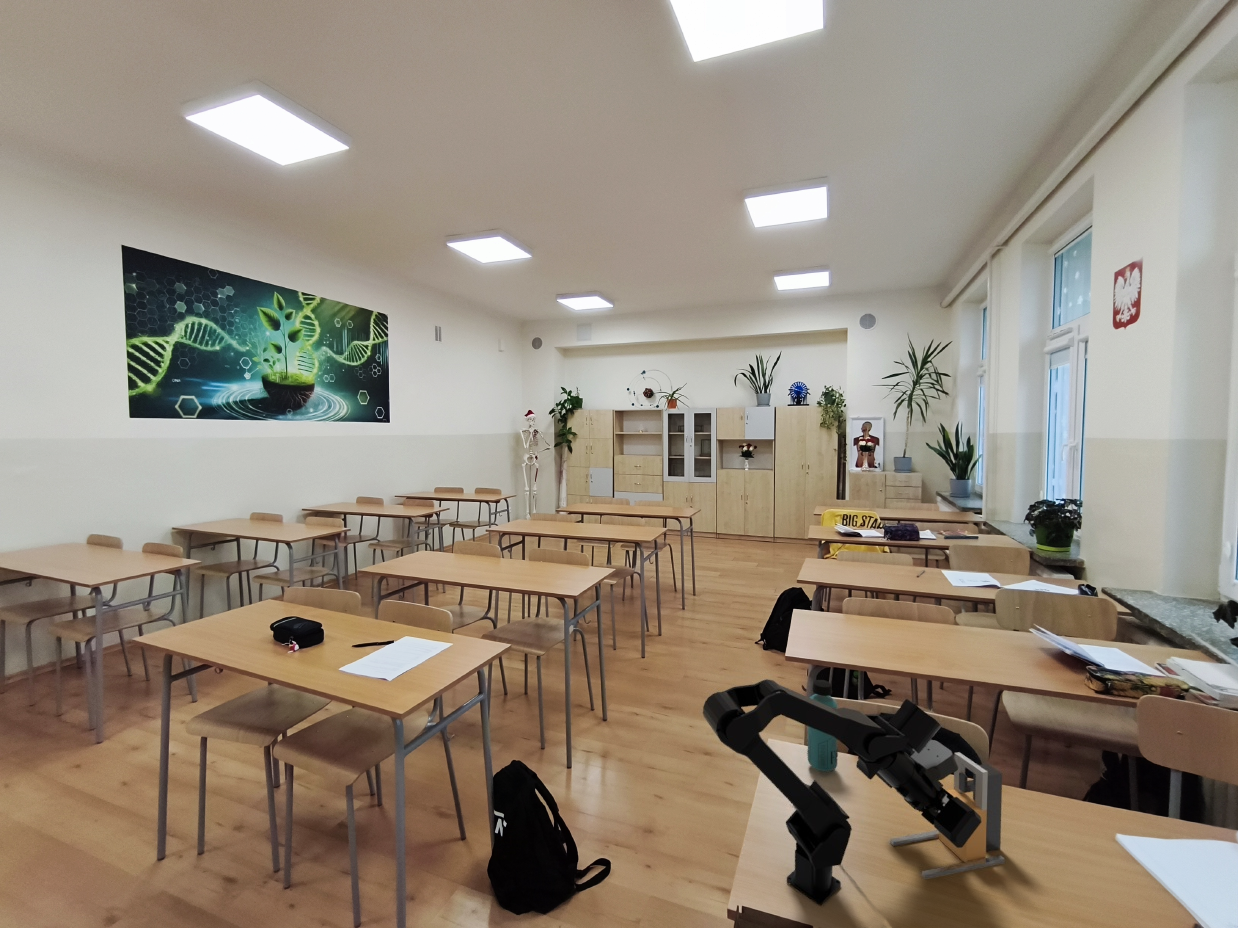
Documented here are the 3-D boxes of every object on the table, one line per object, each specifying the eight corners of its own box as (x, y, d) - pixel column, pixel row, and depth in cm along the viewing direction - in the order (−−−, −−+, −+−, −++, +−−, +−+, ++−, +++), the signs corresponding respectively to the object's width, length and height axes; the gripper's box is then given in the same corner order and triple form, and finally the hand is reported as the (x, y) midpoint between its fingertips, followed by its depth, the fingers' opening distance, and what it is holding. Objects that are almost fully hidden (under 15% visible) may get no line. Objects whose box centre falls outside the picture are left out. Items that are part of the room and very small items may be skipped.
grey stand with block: (928, 889, 90) (930, 801, 89) (886, 845, 100) (888, 765, 99) (1018, 870, 94) (1020, 785, 93) (969, 829, 103) (971, 752, 103)
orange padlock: (966, 863, 94) (968, 774, 93) (938, 838, 100) (940, 754, 99) (985, 859, 95) (987, 771, 94) (957, 835, 100) (959, 752, 100)
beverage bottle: (833, 782, 118) (833, 692, 117) (802, 771, 122) (803, 683, 121) (841, 767, 123) (842, 681, 122) (811, 757, 127) (812, 673, 126)
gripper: (972, 763, 85) (1028, 820, 88) (889, 706, 103) (938, 755, 106) (928, 820, 84) (987, 875, 87) (852, 752, 102) (902, 800, 105)
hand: (951, 820), depth 96 cm, fingers closed, pressing on orange padlock
